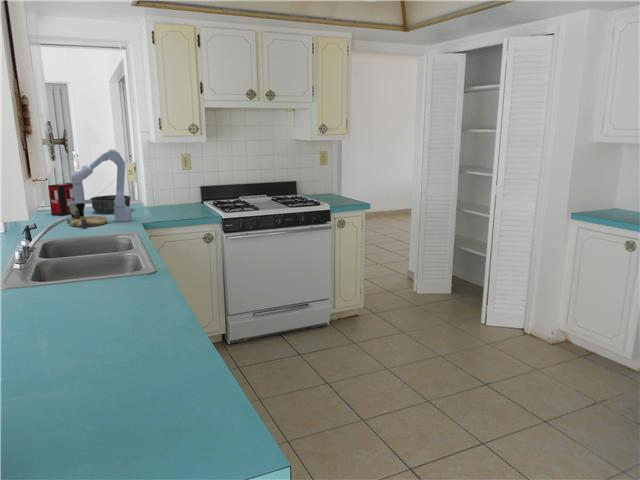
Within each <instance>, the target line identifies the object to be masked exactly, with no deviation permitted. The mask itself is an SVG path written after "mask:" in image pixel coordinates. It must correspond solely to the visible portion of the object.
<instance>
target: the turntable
mask: <svg viewBox="0 0 640 480" xmlns="http://www.w3.org/2000/svg"><path fill="white" fill-rule="evenodd" d="M75 215H76V218H71V219H70V220H71V223H70V222H69V223H70V226H71V227H80V228H82V223H81V220H82V219H86V220H87V227H95V226H96V227H97V226H101V225H105V224H107V223H108V222H107V216H101V215H98V216H96V215H94V216H93V215H92V216H90V215H89V216H84V217H80V211H75Z"/></svg>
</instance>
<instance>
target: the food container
mask: <svg viewBox="0 0 640 480" xmlns="http://www.w3.org/2000/svg"><path fill="white" fill-rule="evenodd" d="M69 207H70V212H71V214H70V218H71V219H74V218H76V215H75V211H78V209H77V207H76V206H75V205H70V206H69ZM80 217H85V209H84V210H83V216H80Z"/></svg>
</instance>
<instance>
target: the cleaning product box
mask: <svg viewBox="0 0 640 480" xmlns="http://www.w3.org/2000/svg"><path fill="white" fill-rule="evenodd" d="M47 188H48V197H49V205H50V212H51V216H53V217H56V216H57V217H64V216H69V215H70V216H71V212H70V207H69V206H67V202H73V201H74V193H73V182H65V183H58V184H50V185H48V186H47Z"/></svg>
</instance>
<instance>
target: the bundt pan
mask: <svg viewBox="0 0 640 480" xmlns="http://www.w3.org/2000/svg"><path fill="white" fill-rule="evenodd" d="M115 197H116V194H110V195H107V194H106V195H98V196H94V197H93V196H92V197H91V198H89V200H92V203H91V207H92V209H93V210H94V212H96V213H98V214H106V215H108V214H115V212H114V206H115V204H114V199H115ZM124 198H125V205H126V206H127V207H131V206H130V204H131V199H132V197H131V196H130V195H127V194H126V195H125V194H124Z"/></svg>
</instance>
